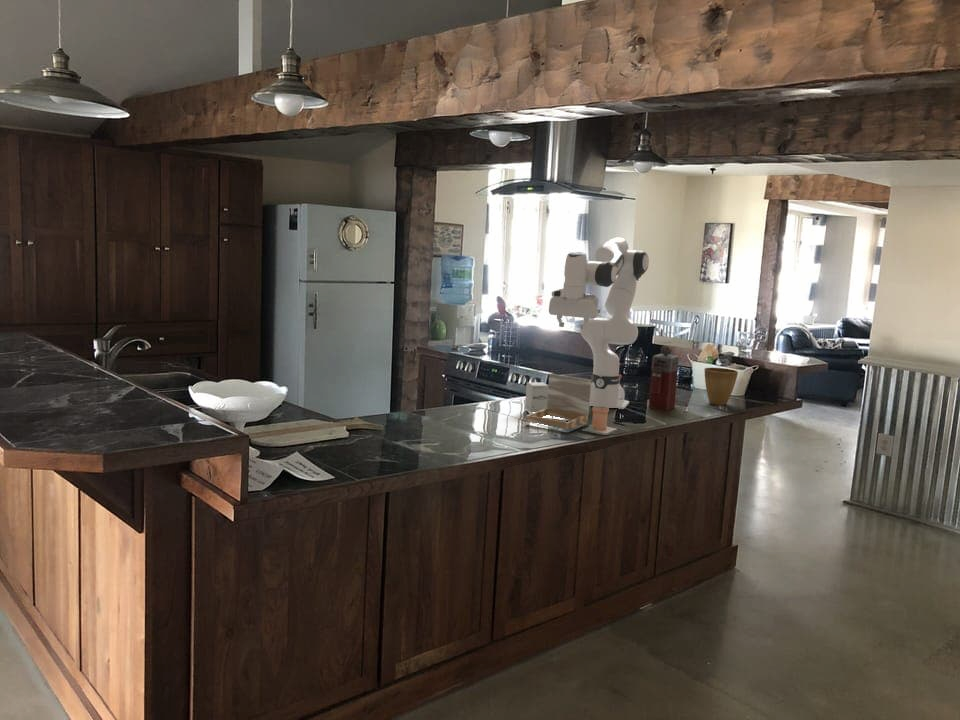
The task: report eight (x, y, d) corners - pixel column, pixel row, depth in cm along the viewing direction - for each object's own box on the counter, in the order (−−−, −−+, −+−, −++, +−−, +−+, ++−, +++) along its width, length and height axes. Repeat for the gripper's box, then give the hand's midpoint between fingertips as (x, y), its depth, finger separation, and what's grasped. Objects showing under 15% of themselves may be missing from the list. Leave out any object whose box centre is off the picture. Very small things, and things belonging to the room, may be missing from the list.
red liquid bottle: (646, 408, 343) (651, 345, 339) (655, 404, 353) (660, 343, 348) (665, 411, 339) (670, 347, 334) (674, 407, 348) (679, 345, 344)
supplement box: (530, 415, 319) (532, 385, 317) (524, 411, 326) (526, 381, 324) (547, 415, 321) (549, 385, 319) (541, 411, 328) (542, 381, 326)
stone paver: (592, 426, 304) (592, 424, 304) (616, 431, 299) (616, 428, 299) (581, 431, 295) (581, 429, 295) (606, 435, 290) (606, 433, 290)
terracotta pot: (594, 425, 301) (596, 405, 300) (609, 428, 298) (611, 408, 297) (588, 428, 296) (589, 408, 295) (603, 431, 293) (604, 410, 291)
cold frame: (547, 417, 317) (550, 373, 314) (588, 424, 308) (591, 379, 305) (525, 425, 301) (528, 379, 298) (567, 433, 292) (570, 386, 289)
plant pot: (739, 407, 353) (742, 373, 350) (706, 406, 353) (709, 371, 350) (729, 401, 367) (732, 367, 365) (697, 399, 368) (700, 366, 365)
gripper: (601, 295, 305) (599, 329, 308) (555, 291, 316) (553, 325, 318) (595, 295, 300) (593, 331, 302) (548, 291, 311) (546, 326, 313)
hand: (572, 328), depth 310 cm, fingers open, 8 cm apart
